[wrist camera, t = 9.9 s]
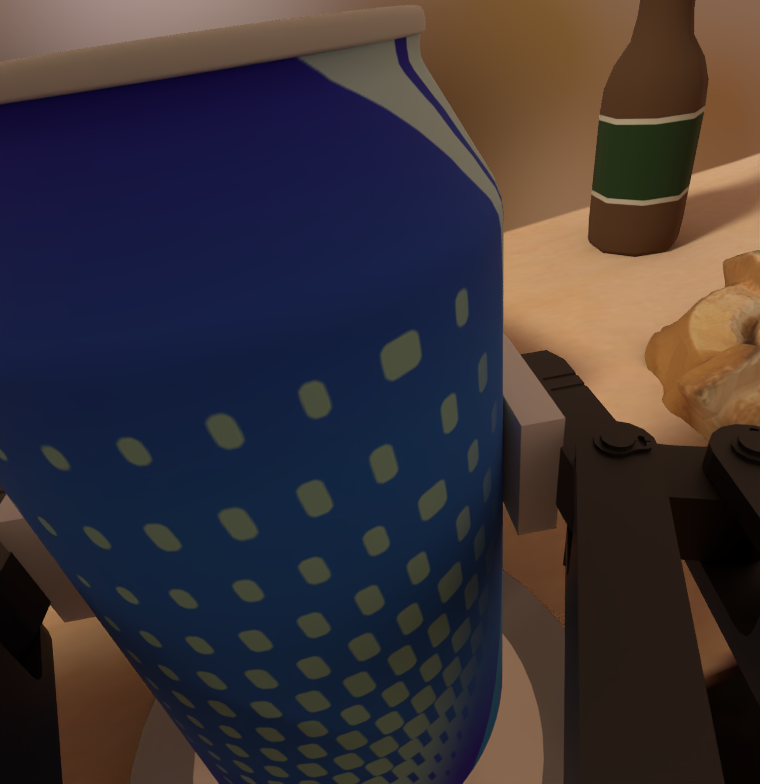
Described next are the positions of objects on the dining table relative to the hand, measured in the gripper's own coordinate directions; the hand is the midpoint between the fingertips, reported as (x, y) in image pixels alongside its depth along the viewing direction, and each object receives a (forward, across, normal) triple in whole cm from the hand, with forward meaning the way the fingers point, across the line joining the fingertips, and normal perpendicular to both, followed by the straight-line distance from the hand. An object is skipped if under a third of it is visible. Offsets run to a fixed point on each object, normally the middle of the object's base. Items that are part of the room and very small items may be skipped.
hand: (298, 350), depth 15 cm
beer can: (-5, 0, -9) cm, 10 cm away
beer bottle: (+32, +29, -12) cm, 45 cm away
